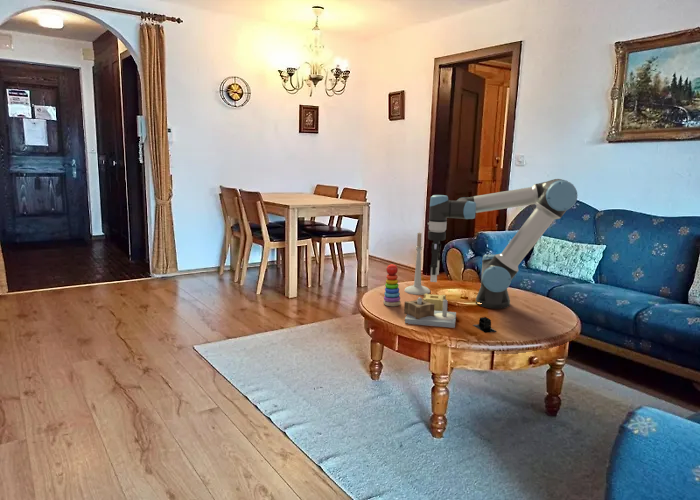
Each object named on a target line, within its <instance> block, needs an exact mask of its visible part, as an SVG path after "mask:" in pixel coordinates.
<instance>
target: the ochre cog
mask: <svg viewBox="0 0 700 500" xmlns="http://www.w3.org/2000/svg"><path fill="white" fill-rule="evenodd" d="M422 299H423V300H424V301H426V302H429V303H433V304H435V306H434V310H435V311H443V300H444V299H446V300H447V295H445V294H430V293H429V294H427V293H426V294H424V295H423V298H422Z"/></svg>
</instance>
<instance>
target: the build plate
mask: <svg viewBox="0 0 700 500" xmlns="http://www.w3.org/2000/svg"><path fill="white" fill-rule="evenodd" d="M472 327H475V328H476V329H478V330H479V331H481V332H482V333H485V334H487V333H489V334H490V333H497V332H498V331H497V330H495V329H494V328H493V327H492V320H491V319H490V318H489V317H488V316H487V317H486V316H483V317H479V320H478V323H477V324H472Z"/></svg>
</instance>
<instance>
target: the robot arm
mask: <svg viewBox="0 0 700 500" xmlns="http://www.w3.org/2000/svg"><path fill="white" fill-rule="evenodd" d="M577 201H578V191H577V188H576V186H575V185H574V184H573V183H572V182H570V181H568V180H565V179H563V178H562V179H561V178H555V179H551V180H546V181H543V182H540V183H534V184H533V186H530V187H524V188H516V189H511V190H505V191H498V192H492V193H486V194H480V195H474V196H470V197H469V196H467V197H465V196H463V197H459V198H458V199H457V200H450V199H449V197H448V195H444V194H433V195H432V196H430V201H429V212H428V213H429V217H428V221H429V222H427V225H428V232H427V233H428V234H427V238H428V240H429V241H433V242H431V263H430V264H429V268H430V283H437V282H438V276H439V274H440V272H439V271H440V261H441V260H442V257H441V253H440V252H441V248H442V243H441V241H445V240H446V238H447V237H446V235H447V232H446V230H447V224H448V223H447V222H448V221H447V220H448V219H447V218H449V219H460V220H461V219H463V220H473V219H476V214H478V213H484V212H492V211H497V210H504V209H509V208H512V209H513V208H517V207H525V206H531V205H535V208H534V210H533V211H532V213H531V214H530V216H528V217H527V219H526V220H525V222H523V224H522V226H521V227H520V228H519V229H518V231H517V232H516V233H515V234H514V236H513V237H512V238H511V240H510V241H509V242H508V244H507V245H506V246H505V247H504V249H503V250H502V252H501V253H498V254H484V255H482V260H481V277H480V279H481V280H480V288H479V291H478V292H477V295H476V296H475V297H476V298H475V302H476V301H477V302H480V303H482V304H481V305H479V306H480V307H483V308H488V309H496V310H498V309H500V310H501V309H506V308H509V307H510V305H511V299H510V295H509V292H508V288H509V287H510V286H511V283H512V280H513V278H514V277H515V276H516V275H517V274H518V272H519V265H520V263H521V262H522V261H523V260H524V259H525V257H526V256H527V255H528V254H529V252H531V250H532V249H533V248H534V246H535V245H536V243H537V242H538V241H539V240H540V238H541V237H542V236H543V234H544V233H545V232H546V231H547V229H548V228H549V227H550V226H551V225H552V223H553V222H554V220H559V219H561V218H562V217H563V216H564V214H565V213H566V211H568V210H570V209H571V208H572V207H573V206H575V204H576V202H577Z"/></svg>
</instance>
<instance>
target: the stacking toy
mask: <svg viewBox="0 0 700 500" xmlns="http://www.w3.org/2000/svg"><path fill="white" fill-rule="evenodd" d="M397 273H398V266H397V265H395V264H393V263H392V264H391V263H390V264H389V265H388V266H387V267H386V274H387V275H386V280H385V288H384V295H383V296H384V297H383V304H384V305H385V306H387V307H398V306H400V305H401V304H402V303H401V297H400V296H401V295H400V288H399V280H398V275H397Z"/></svg>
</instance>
